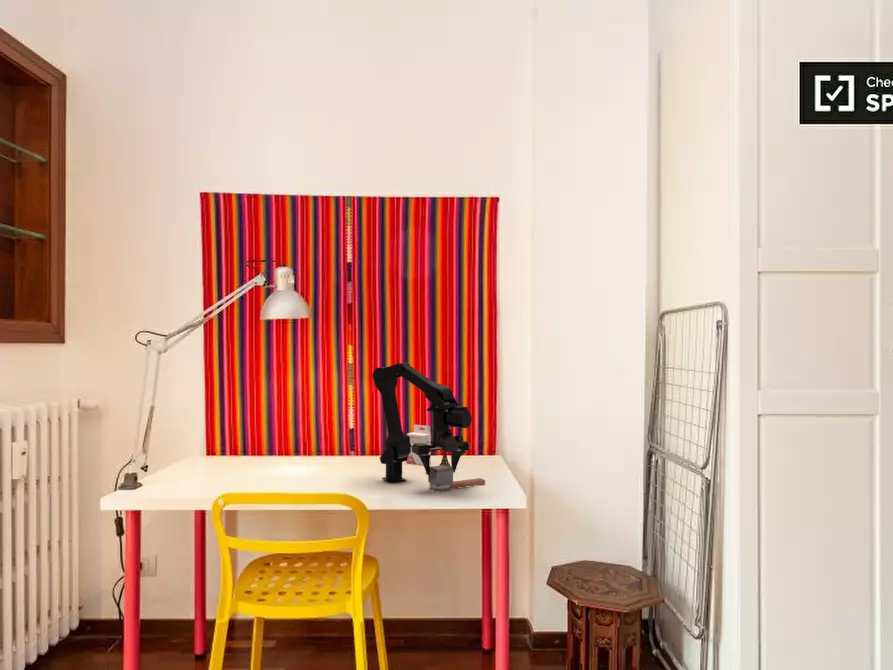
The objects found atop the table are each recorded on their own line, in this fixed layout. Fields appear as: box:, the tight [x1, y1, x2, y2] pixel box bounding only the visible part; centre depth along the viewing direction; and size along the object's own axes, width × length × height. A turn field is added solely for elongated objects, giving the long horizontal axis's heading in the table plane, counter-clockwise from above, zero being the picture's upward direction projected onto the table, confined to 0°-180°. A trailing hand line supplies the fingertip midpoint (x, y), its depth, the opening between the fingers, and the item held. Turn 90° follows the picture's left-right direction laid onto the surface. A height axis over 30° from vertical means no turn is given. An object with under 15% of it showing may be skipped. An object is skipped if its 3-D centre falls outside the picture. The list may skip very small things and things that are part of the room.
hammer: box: [429, 477, 486, 493], centre depth 208 cm, size 20×7×5 cm, turn 118°
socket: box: [427, 465, 454, 486], centre depth 205 cm, size 6×6×5 cm
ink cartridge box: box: [406, 424, 432, 466], centre depth 246 cm, size 9×5×15 cm, turn 58°
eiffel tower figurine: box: [439, 450, 452, 468], centre depth 232 cm, size 15×10×13 cm
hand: (441, 473), depth 205 cm, fingers open, 9 cm apart
